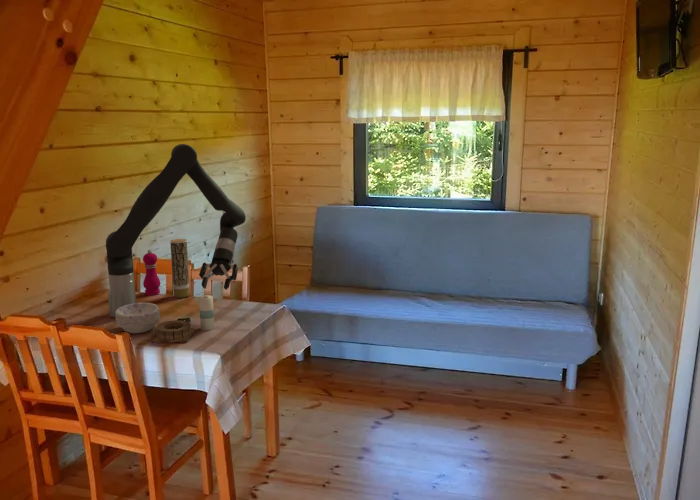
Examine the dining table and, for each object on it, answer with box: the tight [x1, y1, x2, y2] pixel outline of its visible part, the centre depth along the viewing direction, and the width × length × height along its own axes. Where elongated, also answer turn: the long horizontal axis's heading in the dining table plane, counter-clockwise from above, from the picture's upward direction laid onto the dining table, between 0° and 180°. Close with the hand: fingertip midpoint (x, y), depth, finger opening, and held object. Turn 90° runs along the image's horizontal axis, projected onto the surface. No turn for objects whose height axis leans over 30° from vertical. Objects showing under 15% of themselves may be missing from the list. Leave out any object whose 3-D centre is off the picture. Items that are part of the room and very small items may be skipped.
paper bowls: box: [115, 302, 161, 334], centre depth 213 cm, size 15×15×8 cm
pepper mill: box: [142, 249, 161, 296], centre depth 255 cm, size 7×7×20 cm
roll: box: [198, 294, 215, 331], centre depth 214 cm, size 5×5×12 cm
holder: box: [151, 319, 196, 344], centre depth 206 cm, size 12×12×4 cm
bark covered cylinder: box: [169, 238, 191, 299], centre depth 251 cm, size 7×7×25 cm
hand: (214, 288), depth 220 cm, fingers open, 8 cm apart
